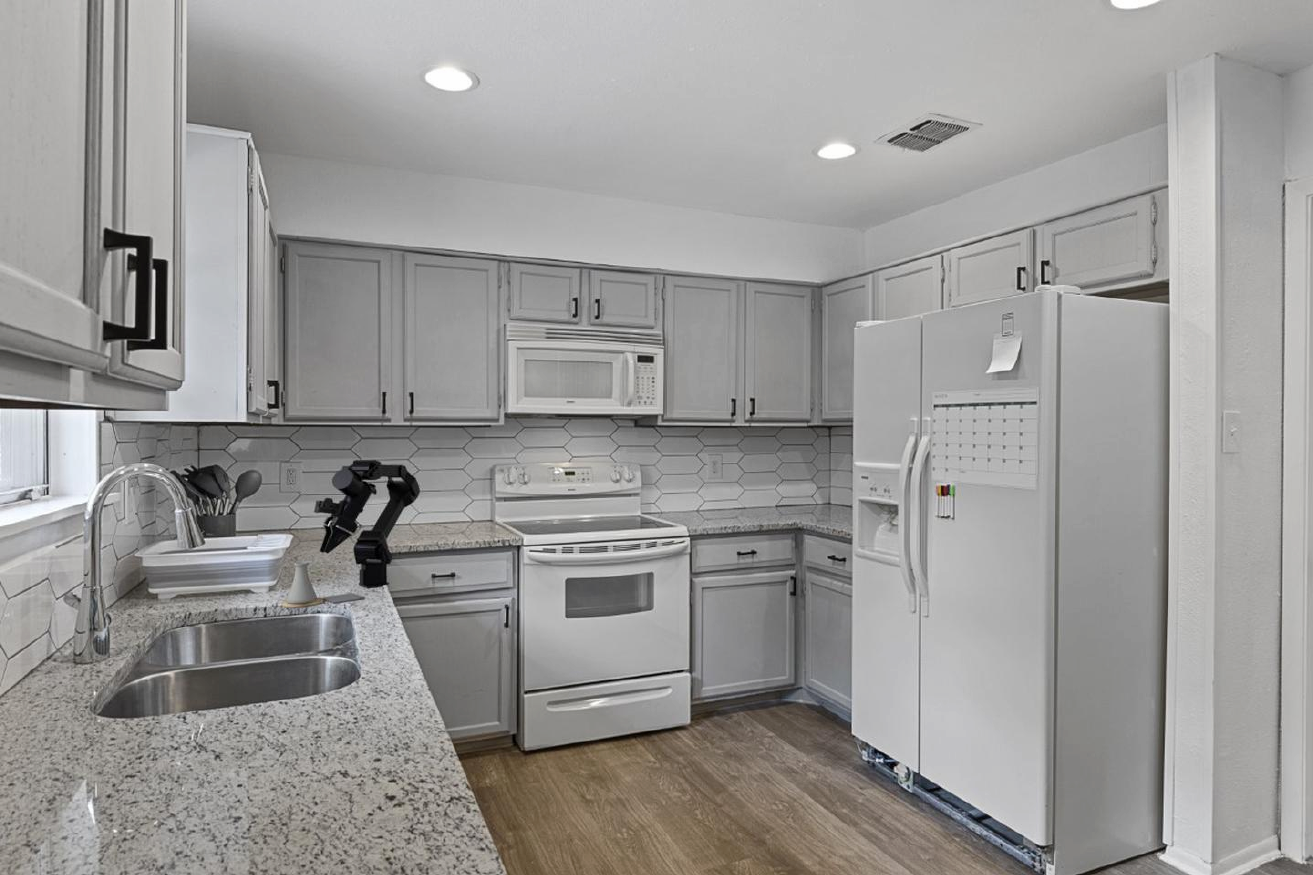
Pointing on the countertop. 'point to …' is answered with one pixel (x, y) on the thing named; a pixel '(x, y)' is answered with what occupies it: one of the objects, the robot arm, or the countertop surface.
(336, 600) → the slate coaster
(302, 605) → the cork trivet
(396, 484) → the robot arm
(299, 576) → the flask
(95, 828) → the countertop surface
